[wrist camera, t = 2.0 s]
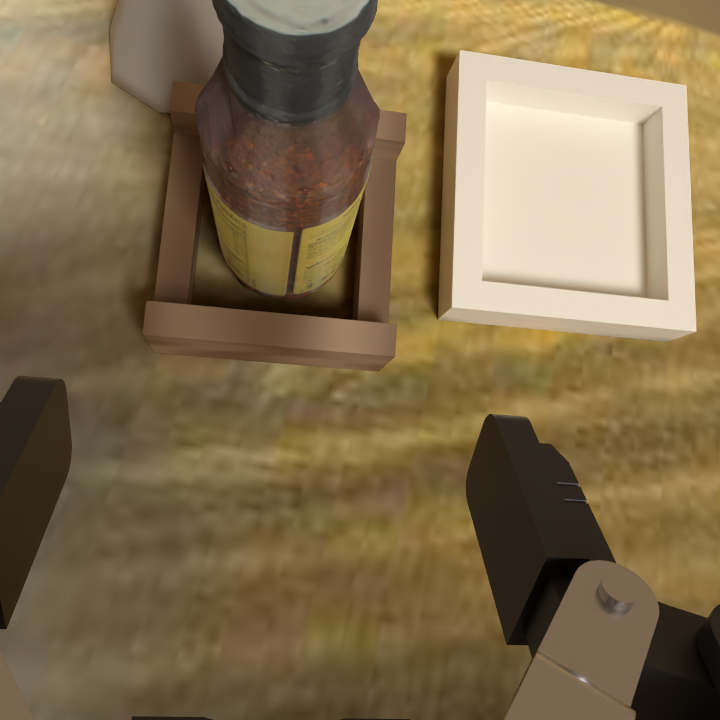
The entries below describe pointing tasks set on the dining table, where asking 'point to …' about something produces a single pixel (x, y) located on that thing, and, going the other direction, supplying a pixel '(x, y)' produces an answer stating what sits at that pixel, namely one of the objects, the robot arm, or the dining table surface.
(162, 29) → the flask
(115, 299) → the dining table surface
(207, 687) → the dining table surface
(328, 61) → the sauce bottle
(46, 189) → the dining table surface
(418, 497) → the dining table surface
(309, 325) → the holder
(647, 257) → the tray
